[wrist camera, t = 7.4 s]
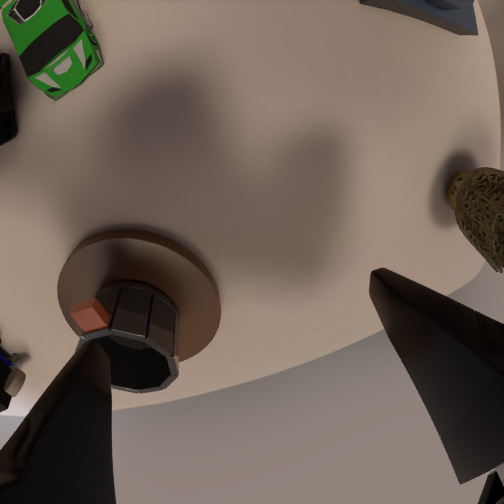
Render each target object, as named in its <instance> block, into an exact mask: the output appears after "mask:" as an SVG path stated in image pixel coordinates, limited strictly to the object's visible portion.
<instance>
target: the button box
mask: <svg viewBox="0 0 504 504" xmlns="http://www.w3.org/2000/svg"><path fill="white" fill-rule="evenodd" d="M360 2H361V3H362V4H367V5H371V6H376V7H380V8H384V9H388V10H391V11H395V12H398V13H402V14H405V15H408V16H412V17H415V18H418V19H420V20H423V21H426V22H429V23H432V24H434V25H437V26H439V27H442V28H444V29H447V30H449V31H451V32H454V33H456V34H458V35H478V30H477V24H476V18H475V13H474V8H473V2H474V0H360Z"/></svg>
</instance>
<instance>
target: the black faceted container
mask: <svg viewBox="0 0 504 504" xmlns="http://www.w3.org/2000/svg"><path fill="white" fill-rule="evenodd" d="M70 315H71V316H72V317H73V318H74V320H75V321H76V322H77V323H78V325H79V326H80V327H81V328H82V332H81V335H80V338H79V341H78V344H77V347H76V350H75V352H76V351H77V350H78V349H79V348H80V346H81V345H82V344H83V343H84V342H85V341H90V340H95V341H97V342H98V343H99V344H100V346H101V347H102V348H103V349H104V351H105V352H106V353H107V354H108V356H109V359H110V376H111V387H112V388H114V389H118V390H123V391H128V392H133V393H138V392H139V393H147V392H153V391H159V390H163V388H164V389H166V388H167V387H168V386H169V385H170V384H171V383H172V382H173V381H174V380H175V379H176V378H177V377H178V375H179V316H178V313H177V310H176V308H175V307H174V305H173V304H172V302H171V301H170V300H169V299H168V298H167V297H166V296H165V295H163V294H162V293H161V292H159V291H158V290H156V289H154V288H152V287H150V286H147V285H144V284H141V283H136V282H116V283H112V284H109V285H107V286H105V287H104V288H102V289H101V290H100V291H98V292H97V294H96V295H95V297H94V298H93V299H90V300H87V301H84V302H80V303H77V304H74V305H73V307H72V310H71V312H70Z"/></svg>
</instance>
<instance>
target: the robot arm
mask: <svg viewBox="0 0 504 504" xmlns="http://www.w3.org/2000/svg"><path fill="white" fill-rule="evenodd" d="M2 58H3V61H2V62H1V60H2ZM10 130H11V131H12V134H11V135H10ZM16 135H17V125H16V119H15V113H14V107H13V98H12V90H11V80H10V70H9V55H8V54H7V53H1V54H0V146H1V145H3V144H5V143H7V142H8V141H10V140H12V139H14V138H15V137H16ZM369 294H370V298H371V300H372V302H373V304H374V306H375V308H376V311H377V313H378V315H379V317H380V320H381V322H382V324H383V326H384V329H385V331H386V333H387V335H388V337H389V339H390V341H391V343H392V345H393V346H394V348H395V350H396V352H397V353H398V355H399V357H400V359H401V361H402V363H403V364H404V366H405V368H406V370H407V372H408V374H409V375H410V377H411V379H412V381H413V383H414V385H415V387H416V389H417V391H418V393H419V395H420V397H421V398H422V401H423V402H424V404H425V407H426V408H427V411H428V413H429V415H430V417H431V419H432V421H433V423H434V425H435V427H436V430H437V432H438V434H439V436H440V437H441V438H440V439H441V440H442V443H443V445H444V448H445V450H446V452H447V455H448V457H449V459H450V462H451V464H452V466H453V469H454V471H455V474H456V476H457V479H458V481H459V483H460V484H463V483H465V482H467V481H470V480H472V479H474V478H476V477H478V476H480V475H482V474H484V473H486V472H488V471H490V470H492V469H494V468H496V469H495V470H494V471H493V472H491V473H490V474H489V475H488V477H487V480H486V483H485V485H484V488H483V491H482V494H481V496H480V499H479V502H478V504H504V324H502V323H500V322H498V321H496V320H494V319H491V318H490V317H487V316H485V315H483V314H481V313H479V312H477V311H474V310H473V309H471V308H469V307H467V306H465V305H463V304H461V303H459V302H457V301H455V300H453V299H451V298H448V297H446V296H444V295H442V294H440V293H438V292H436V291H434V290H432V289H430V288H427V287H425V286H423V285H421V284H419V283H417V282H415V281H412V280H410V279H408V278H406V277H404V276H401V275H399V274H397V273H395V272H393V271H390V270H388V269H386V268H379V269H376V270H373V271H372V272H371V274H370V286H369ZM111 425H112V394H111V376H110V359H109V356H108V354H107V353H106V352H105V351H104V349H103V348H102V347H101V346H100V344H99V343H98V342H97V341H95V340H90V341H85V342H84V343H83V344H82V345H81V346H80V348H79V349H78V350H77V351H76V352H75V354H74V355H73V356H72V357H71V359H70V360H69V361H68V362H67V363H66V365H65V366H64V367H63V368H62V370H61V371H60V372H59V373H58V375H57V376H56V377H55V379H54V380H53V381H52V382H51V384H50V385H49V386H48V388H47V389H46V390H45V392H44V393H43V394H42V395H41V397H40V398H39V399H38V401H37V402H36V404H35V405H34V406H33V408H32V409H31V410H30V412H29V414H27V416H26V417H25V419H24V420H23V422H22V423H21V424H20V426H19V427H18V428H17V430H16V431H15V432H14V434H13V435H12V436H11V437H10V439H9V440H8V441H7V442H6V444H5V445H4V446H3V448H2V449H1V450H0V504H116V497H115V488H114V475H113V462H112V461H113V460H112V429H111V428H112V426H111Z"/></svg>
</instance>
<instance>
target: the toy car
mask: <svg viewBox="0 0 504 504" xmlns="http://www.w3.org/2000/svg"><path fill="white" fill-rule="evenodd" d="M7 1H8V0H0V9H2V6H3V5H4V4H5V3H6V2H7ZM83 11H84V9H83ZM84 13H85V15H84V16H83V15H82V13H81V11H80V8H79V6H78V4H77V2H76V0H13V1H12V2H11V3H10V4H9V5H7V6H6V7H5V8H4V9H3V12H2V17H3V21H4V24H5V26H6V28H7V30H8V32H9V34H10V37H11V39H12V41H13V43H14V46H15V48H16V50H17V53H18V55H19V58H20V60H21V63H22V65H23V68H24V70H25V73H26V75H27V77H28V79H29V80H30V81H31V82H32V83H33V84H34V85H35V86H36V87H38V88H39V89H41V90H42V91H44V93H45V94H46V96H48V97H49V98H51V99H53V100H54V101H56V100H57V99H59V98H60V97H62V96H63V95H65V94H66V92H67V91H68V90H70V89H72V88H74V87H75V86H77V85H78V84H79V83H81V82H82V81H83V80H84V78H85V77H86V76H87V75H88V74H91V73H93V72H94V71H96V70H97V69H98V68H99V67H100V66H101V65H102V64H103V61H102V57H101V53H100V49H99V45H97V46H95V44H96V43H97V40H96V37H95V35H94V34H93V32H92V31H91V30H90V29H89V28H91V27H93V26H92V24H91V22H90V20H89V18H88V15H87V14H86V12H85V11H84ZM81 84H82V83H81Z"/></svg>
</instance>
